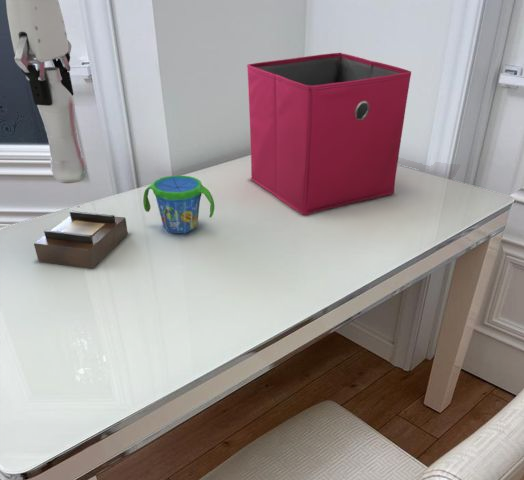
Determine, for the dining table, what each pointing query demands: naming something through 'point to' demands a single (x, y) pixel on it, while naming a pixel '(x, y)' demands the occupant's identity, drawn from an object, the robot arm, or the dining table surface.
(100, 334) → the dining table surface
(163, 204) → the snack cup
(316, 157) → the storage bin
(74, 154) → the silver metal bottle
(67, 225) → the brown wooden base
